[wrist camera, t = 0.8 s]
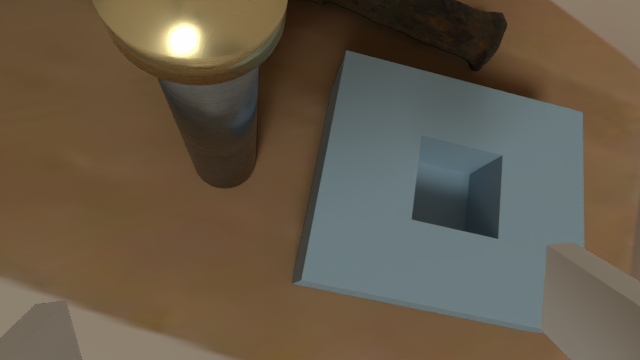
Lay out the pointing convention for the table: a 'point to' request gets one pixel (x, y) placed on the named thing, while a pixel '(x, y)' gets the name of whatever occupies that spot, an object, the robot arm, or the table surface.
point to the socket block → (440, 194)
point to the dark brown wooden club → (437, 24)
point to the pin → (203, 70)
